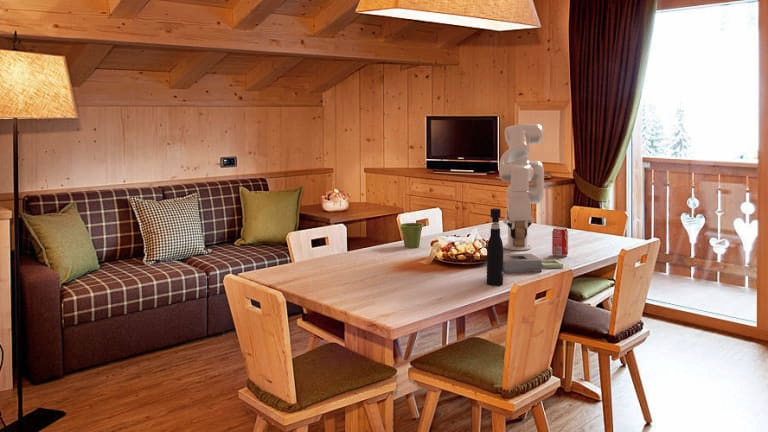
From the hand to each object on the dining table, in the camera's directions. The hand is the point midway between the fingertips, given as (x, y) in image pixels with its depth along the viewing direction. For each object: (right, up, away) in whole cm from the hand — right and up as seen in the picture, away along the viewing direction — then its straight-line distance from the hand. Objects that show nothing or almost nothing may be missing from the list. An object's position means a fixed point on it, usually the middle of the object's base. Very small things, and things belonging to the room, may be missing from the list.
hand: (518, 237), depth 321 cm
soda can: (+24, -9, +29) cm, 38 cm away
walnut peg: (0, -4, 0) cm, 4 cm away
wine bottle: (-14, -18, -23) cm, 32 cm away
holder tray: (+15, -13, +7) cm, 21 cm away
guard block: (0, -14, +3) cm, 14 cm away
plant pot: (-44, -6, +53) cm, 69 cm away
